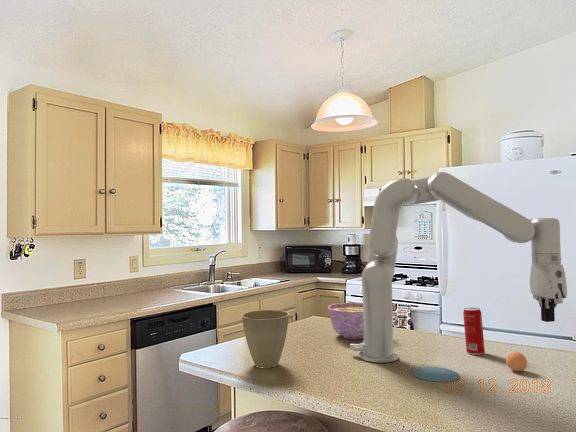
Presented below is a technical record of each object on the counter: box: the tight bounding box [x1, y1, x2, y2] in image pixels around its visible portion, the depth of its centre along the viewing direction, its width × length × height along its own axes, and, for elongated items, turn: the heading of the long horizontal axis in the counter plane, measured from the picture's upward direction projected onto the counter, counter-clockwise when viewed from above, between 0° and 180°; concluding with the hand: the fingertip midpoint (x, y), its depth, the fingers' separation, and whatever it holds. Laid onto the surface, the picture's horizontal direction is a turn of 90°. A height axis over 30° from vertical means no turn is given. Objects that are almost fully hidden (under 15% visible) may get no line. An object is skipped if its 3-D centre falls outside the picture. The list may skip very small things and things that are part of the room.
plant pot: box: [241, 309, 290, 369], centre depth 143 cm, size 15×15×16 cm
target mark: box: [411, 366, 460, 383], centre depth 132 cm, size 13×13×1 cm
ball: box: [505, 351, 528, 372], centre depth 134 cm, size 6×6×6 cm
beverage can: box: [462, 307, 486, 356], centre depth 153 cm, size 6×6×15 cm
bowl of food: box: [327, 302, 364, 340], centre depth 177 cm, size 20×20×12 cm
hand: (548, 320), depth 135 cm, fingers closed
